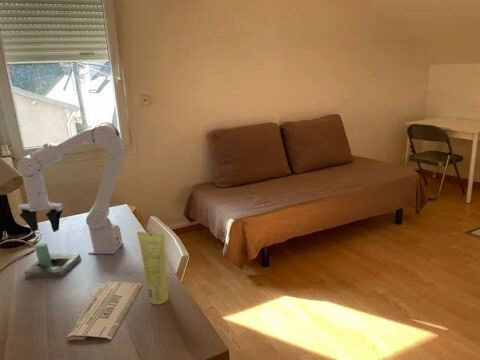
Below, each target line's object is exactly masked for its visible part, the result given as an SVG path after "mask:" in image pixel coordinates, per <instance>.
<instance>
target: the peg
mask: <svg viewBox="0 0 480 360" xmlns="http://www.w3.org/2000/svg"><path fill="white" fill-rule="evenodd" d="M48 246H49V245H48V244H47V243H45V242H44V243H40V244H37V245H35V247H34V249H35V253H36V257H37V261H39V265H40V266H48V267H54V266H53V265H52V262H51V258H50V254H51V253H50V251H49V248H48Z"/></svg>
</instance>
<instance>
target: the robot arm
mask: <svg viewBox="0 0 480 360" xmlns="http://www.w3.org/2000/svg"><path fill="white" fill-rule="evenodd" d="M86 143H87V144H92V145H93V144H95V143H96V144H98V145H99V146H100V147H102V148H103V149H104V150H105V152H106V153H107V155H108V159H107V161H106V166H105V169H104V171H103V175H102V177H101V182H100V183H99V188H98V192H97V194H96V197H95V201H94V204H93V205H91V208H90V210H89V212H88V214H87V216H86V220H85V222H86V224H87V227H88V230H89V236H90V240H91V244H92V248H91V249H90V250H89V251H88V254H90V255H91V254H94V255H95V254H98V255H99V254H101V255H103V254H104V255H113V254H115V253H116V252H117V251H119V249H120V248H121V247H122V246H123V245H124V241H123V238H122V233H121V228H120V226H119V225H118V224H114V223H112V222H111V220H110V219H109V214H110V209H109V205H110V201H111V199H112V195H113V192H114V189H115V187H116V184H117V183H116V182H117V180H118V176H119V173H120V170H121V166H122V164H123V160H124V158H125V153H126V150H125V148H124V144H123V141H122V137H121V133H120V131H119V130H118V129H117V127H116V126H115V124H113V123H110V122H105V121H104V122H101V123H99V125H94V126H90V127H89V128H86V129H84V130H82V131H80V132H78V133H77V134H75V135H73V136H71V137H69V138H67V139H65V140H64V141H62V142H60V143H58V144H57V143H53V142H51V143H48V142H46V143H45V144H42V147H41V148H39V149H37V150H35V151H33V150H32V151H30V152H29V153H28V155H25V156H24V157H21V158H20V160H18V162H17V163H16V169H17V172H19V174H20V175H21V178H22V182H23V186H24V190H25V194H26V198H27V203H21V204H19V205H17V209H18V212H21V213H19V216H20V218H21V219H22V220H23V221H24V222H26V224H27V225H28V227H29V229H30V230H31V232H32V233H35V232H36V231H38V230H39V225H38V219H37V211H38V212H39V211H40V212H42V211H44V212H45V211H48V212H46V214H45V216H46V217H47V218H48V220H49V222H50V225H51V229H52V232H53V233H54V232H55V233H56V232H58V230H59V229H60V220H61V215H62V214H63V209H64V207H63V203H59V202H58V203H57V202H51V201H50V200H49V196H48V191H47V187H46V185H45V180H44V176H43V171H42V169H45V168H47V167H49V166H51V165H53V164H54V163H56V162H58V161H60V160H63V158H64V154H65V153H67V152H69V151H71V150H73V149H75V148H77V147H79V146H81V145H84V144H86Z"/></svg>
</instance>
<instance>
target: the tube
mask: <svg viewBox="0 0 480 360" xmlns="http://www.w3.org/2000/svg"><path fill="white" fill-rule="evenodd" d="M137 238H138V243H139V247H140V253H141V257H142V262H143V268H144V274H145V279H146V280H145V281H146V286H147V294H148V298H149V299H148V300H149V303H151V304H153V305H162V304H165V303H166V302H167V301H168V300H169V292H168V291H169V290H168V283H167V282H168V281H167V269H166V258H165V257H166V256H165V233H153V232H145V231H144V232H143V231H137Z"/></svg>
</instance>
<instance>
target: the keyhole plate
mask: <svg viewBox="0 0 480 360" xmlns="http://www.w3.org/2000/svg"><path fill="white" fill-rule="evenodd" d="M49 254H50V258H51V262H52V266H53V265H62V266H53V267H48V266H40V265H39V261H38V260H37V261H36V262H35V263H33V264H31V266H29V267H28V268H27V269H26V270H24V276H25V278H45V279H46V278H51V279H54V278H55V279H56V278H57V279H62V278H63V277H64V276H65V275H66V274H68V272H69V271H70V270H72V269H73V268H74V267H75V266H76V265H77V264H79V262H80V261H81V260H82V259H81V254H80V253H72V254H71V253H49Z"/></svg>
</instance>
